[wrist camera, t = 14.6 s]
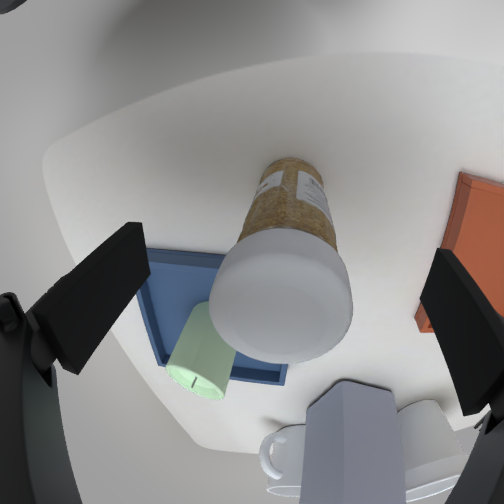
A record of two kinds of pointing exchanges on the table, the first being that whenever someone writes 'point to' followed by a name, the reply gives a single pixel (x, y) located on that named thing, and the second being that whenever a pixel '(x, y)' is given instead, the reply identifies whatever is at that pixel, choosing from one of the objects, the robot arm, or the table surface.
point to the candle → (201, 356)
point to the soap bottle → (353, 448)
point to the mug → (284, 460)
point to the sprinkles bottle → (284, 273)
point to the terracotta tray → (476, 238)
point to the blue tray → (189, 308)
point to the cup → (429, 450)
